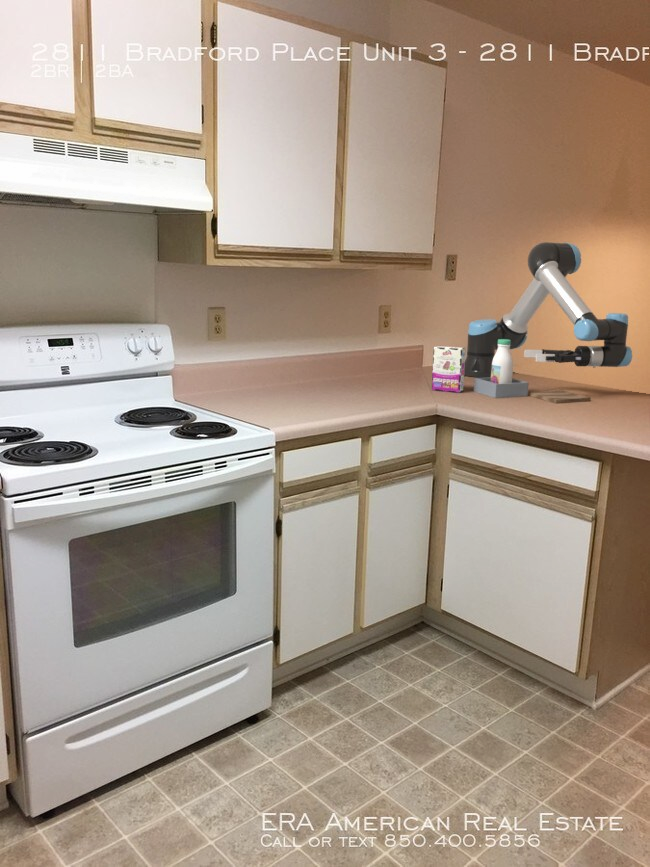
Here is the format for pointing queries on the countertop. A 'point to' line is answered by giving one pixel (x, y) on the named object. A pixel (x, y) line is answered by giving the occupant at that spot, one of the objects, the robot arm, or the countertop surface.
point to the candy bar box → (448, 369)
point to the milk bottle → (502, 363)
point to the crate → (501, 388)
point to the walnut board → (559, 396)
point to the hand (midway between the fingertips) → (530, 355)
